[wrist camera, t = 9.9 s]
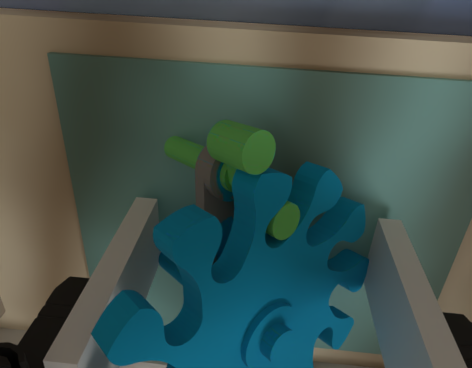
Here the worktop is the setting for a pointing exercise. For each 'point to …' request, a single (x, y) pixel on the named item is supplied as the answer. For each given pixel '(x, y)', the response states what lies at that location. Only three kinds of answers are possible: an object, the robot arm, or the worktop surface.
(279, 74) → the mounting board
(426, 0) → the worktop surface
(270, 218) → the gear
